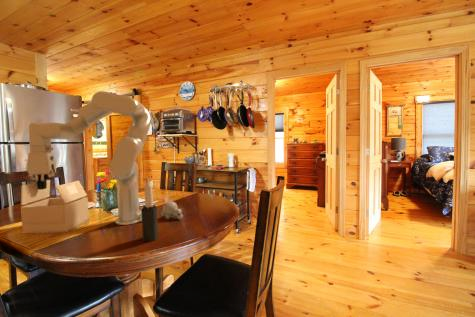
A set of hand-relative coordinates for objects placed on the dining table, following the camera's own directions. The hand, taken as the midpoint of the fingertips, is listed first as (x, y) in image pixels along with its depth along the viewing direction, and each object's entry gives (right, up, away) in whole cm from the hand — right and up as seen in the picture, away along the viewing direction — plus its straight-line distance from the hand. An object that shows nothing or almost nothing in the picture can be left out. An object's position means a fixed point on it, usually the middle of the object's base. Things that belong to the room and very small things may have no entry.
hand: (42, 188), depth 108 cm
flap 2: (+13, -1, +1) cm, 13 cm away
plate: (-9, -17, +32) cm, 37 cm away
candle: (+56, -19, -14) cm, 61 cm away
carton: (+6, -18, +2) cm, 19 cm away
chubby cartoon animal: (+58, -17, +11) cm, 62 cm away
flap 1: (-2, -1, 0) cm, 3 cm away
